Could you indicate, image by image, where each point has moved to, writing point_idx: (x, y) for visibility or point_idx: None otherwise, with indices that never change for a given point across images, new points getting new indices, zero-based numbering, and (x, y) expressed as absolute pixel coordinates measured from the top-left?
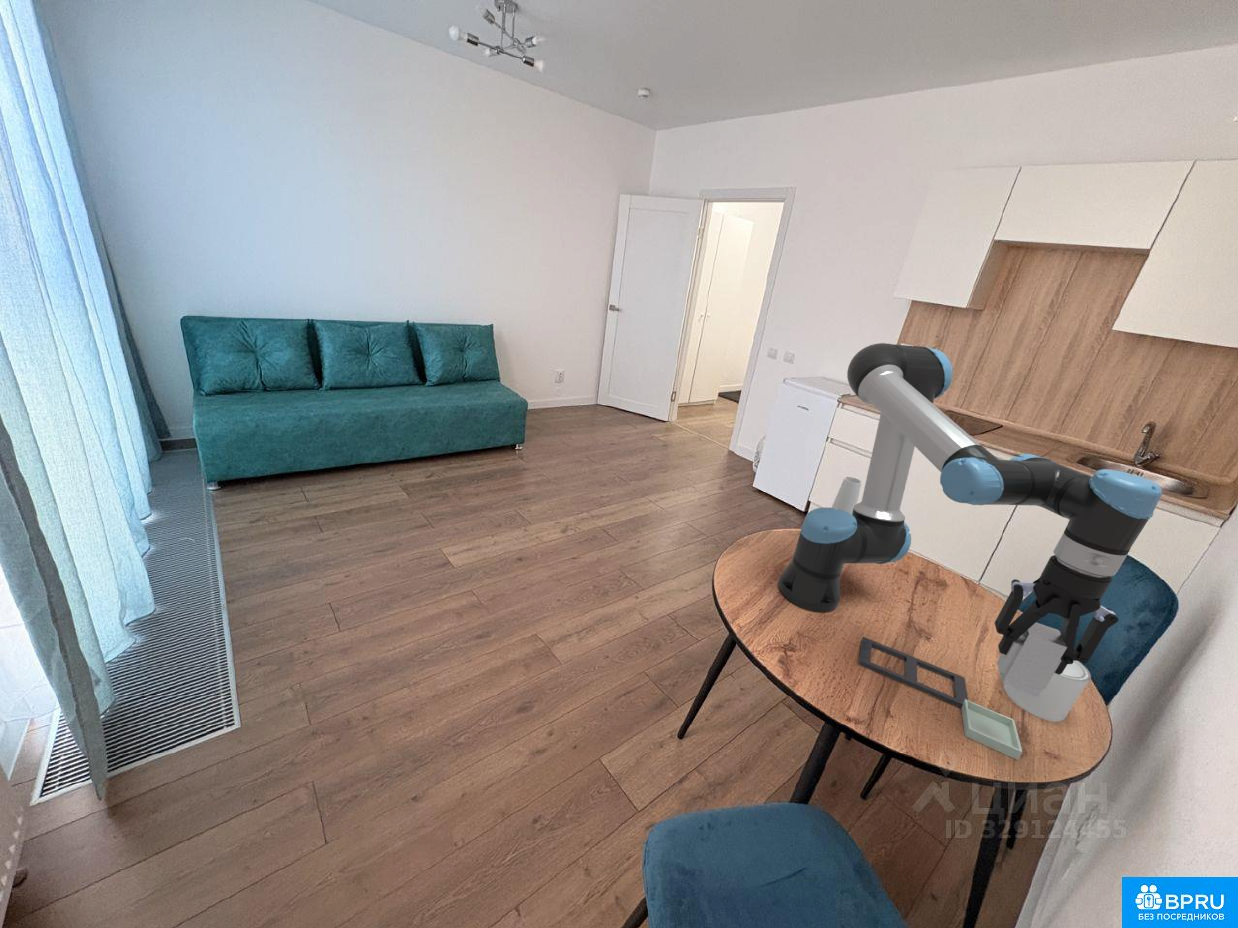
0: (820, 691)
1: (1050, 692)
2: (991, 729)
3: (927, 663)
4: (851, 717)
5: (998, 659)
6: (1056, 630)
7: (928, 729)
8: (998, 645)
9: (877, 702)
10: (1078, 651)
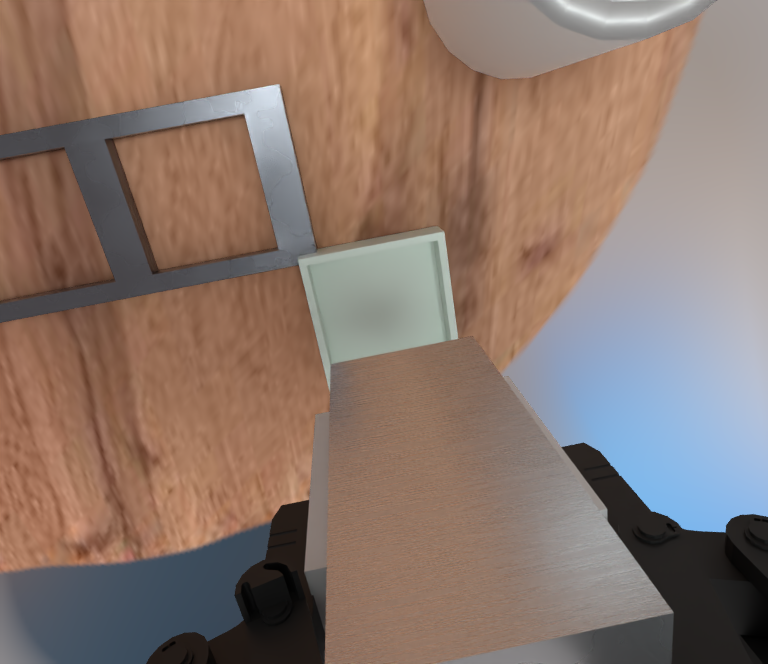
0: None
1: (570, 59)
2: (388, 298)
3: (141, 116)
4: (83, 541)
5: (315, 427)
6: (643, 634)
7: (246, 428)
8: (272, 525)
9: (105, 442)
10: (756, 598)
